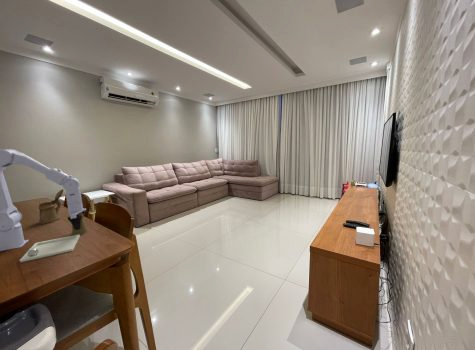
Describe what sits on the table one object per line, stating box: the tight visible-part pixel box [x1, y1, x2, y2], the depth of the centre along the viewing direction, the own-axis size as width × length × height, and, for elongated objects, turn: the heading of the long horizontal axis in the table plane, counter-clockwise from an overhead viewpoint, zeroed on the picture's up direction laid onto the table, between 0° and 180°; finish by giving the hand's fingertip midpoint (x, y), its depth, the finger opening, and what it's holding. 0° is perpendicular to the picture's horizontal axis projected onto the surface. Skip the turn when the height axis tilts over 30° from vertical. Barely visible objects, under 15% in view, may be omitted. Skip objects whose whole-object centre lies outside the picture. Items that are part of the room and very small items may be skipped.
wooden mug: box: [38, 188, 64, 224], centre depth 122 cm, size 9×14×18 cm, turn 148°
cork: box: [71, 213, 87, 236], centre depth 101 cm, size 6×6×11 cm
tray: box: [19, 234, 81, 263], centre depth 87 cm, size 16×16×2 cm
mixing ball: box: [26, 248, 39, 257], centre depth 80 cm, size 3×3×3 cm
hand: (78, 227), depth 101 cm, fingers closed on cork, 5 cm apart
